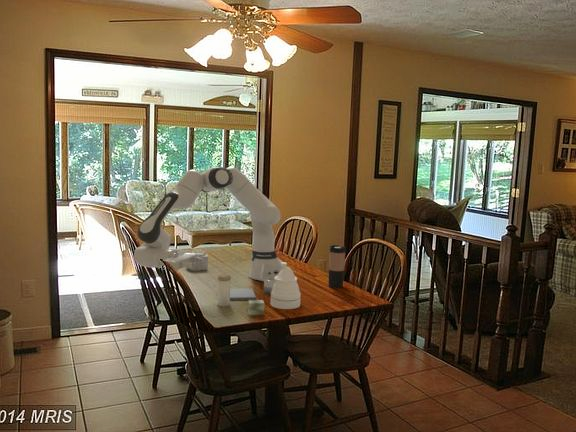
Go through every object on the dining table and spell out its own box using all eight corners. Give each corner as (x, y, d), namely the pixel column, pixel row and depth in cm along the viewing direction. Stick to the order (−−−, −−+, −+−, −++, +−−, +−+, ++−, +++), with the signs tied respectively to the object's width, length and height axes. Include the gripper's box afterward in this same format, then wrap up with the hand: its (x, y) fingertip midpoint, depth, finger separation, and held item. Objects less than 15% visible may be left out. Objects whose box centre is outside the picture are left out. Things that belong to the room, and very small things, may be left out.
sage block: (262, 311, 209) (263, 300, 208) (264, 315, 205) (264, 303, 205) (248, 312, 208) (248, 300, 207) (249, 315, 204) (249, 303, 204)
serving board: (252, 290, 238) (252, 288, 238) (255, 299, 225) (255, 297, 224) (217, 291, 235) (218, 288, 235) (219, 300, 222) (219, 297, 222)
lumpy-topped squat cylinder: (191, 271, 271) (191, 255, 270) (183, 265, 282) (183, 250, 281) (209, 269, 276) (210, 253, 275) (201, 264, 287) (201, 249, 286)
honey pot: (264, 303, 220) (265, 262, 218) (285, 298, 229) (287, 259, 227) (284, 311, 211) (286, 268, 208) (306, 305, 220) (308, 264, 217)
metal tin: (275, 290, 240) (276, 278, 239) (277, 294, 234) (278, 281, 234) (263, 290, 239) (263, 278, 238) (264, 294, 233) (265, 281, 232)
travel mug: (330, 288, 247) (333, 248, 244) (325, 284, 254) (327, 245, 252) (345, 288, 249) (347, 248, 246) (340, 284, 256) (342, 245, 254)
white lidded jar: (229, 302, 220) (230, 274, 218) (230, 306, 214) (231, 278, 213) (217, 302, 219) (217, 275, 217) (217, 306, 213) (218, 278, 212)
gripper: (156, 256, 211) (186, 260, 207) (180, 248, 230) (208, 251, 227) (156, 271, 212) (186, 275, 208) (179, 262, 231) (207, 265, 227)
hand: (197, 263), depth 217 cm, fingers open, 8 cm apart
